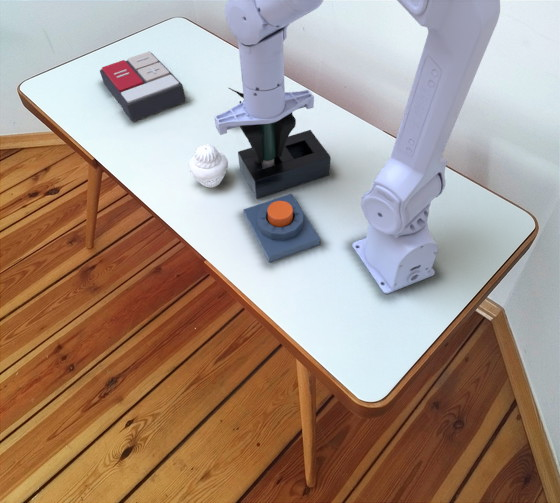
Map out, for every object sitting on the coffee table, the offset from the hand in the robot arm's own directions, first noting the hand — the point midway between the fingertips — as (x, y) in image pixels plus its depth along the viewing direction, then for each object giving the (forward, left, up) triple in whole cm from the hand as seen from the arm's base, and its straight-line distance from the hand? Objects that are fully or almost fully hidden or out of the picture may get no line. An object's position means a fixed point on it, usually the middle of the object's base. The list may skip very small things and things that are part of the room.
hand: (267, 155), depth 80 cm
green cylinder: (0, 0, -3) cm, 3 cm away
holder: (0, -3, -5) cm, 5 cm away
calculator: (+32, +13, -5) cm, 35 cm away
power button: (-11, +3, -2) cm, 12 cm away
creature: (+16, -3, -5) cm, 17 cm away
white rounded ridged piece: (+3, +9, -5) cm, 11 cm away
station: (-11, +3, -5) cm, 12 cm away
